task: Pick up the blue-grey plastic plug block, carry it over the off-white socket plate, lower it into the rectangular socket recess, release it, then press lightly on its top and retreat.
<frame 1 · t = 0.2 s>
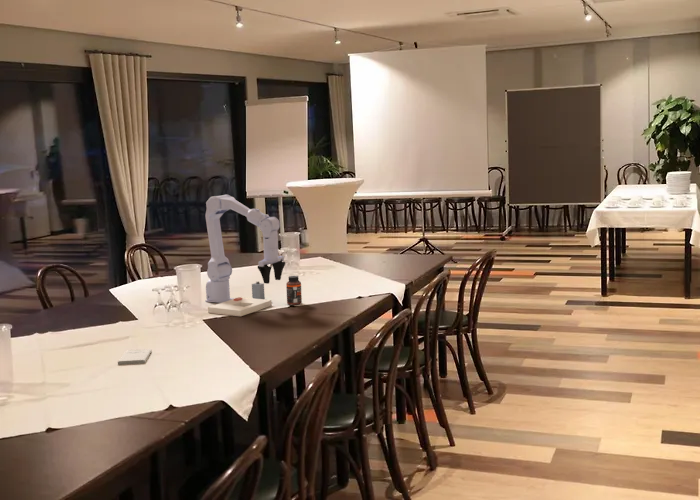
hand: (272, 281, 309), 10 cm above the table, tool pointing down, fingers open, 7 cm apart
socket plate: (240, 309, 306), on the table
external hard drive: (135, 360, 242), on the table
plug: (258, 300, 321), on the table
supplement bottle: (294, 304, 312), on the table
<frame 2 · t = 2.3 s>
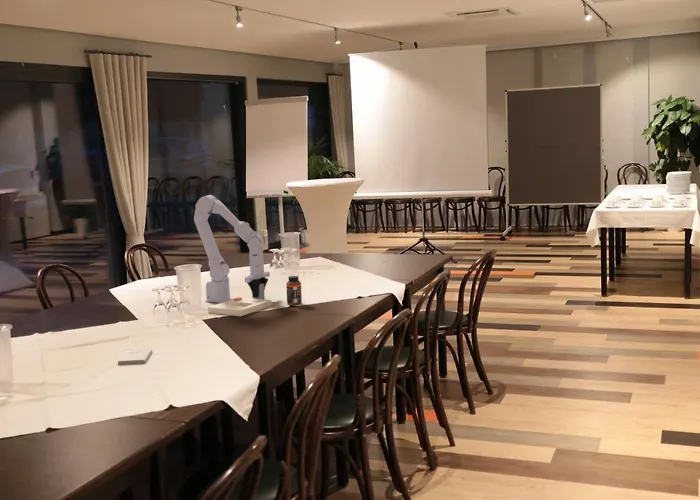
hand: (258, 296, 321), 2 cm above the table, tool pointing down, fingers closed on plug, 3 cm apart
plug: (258, 300, 321), on the table, touching gripper
everything else where it was.
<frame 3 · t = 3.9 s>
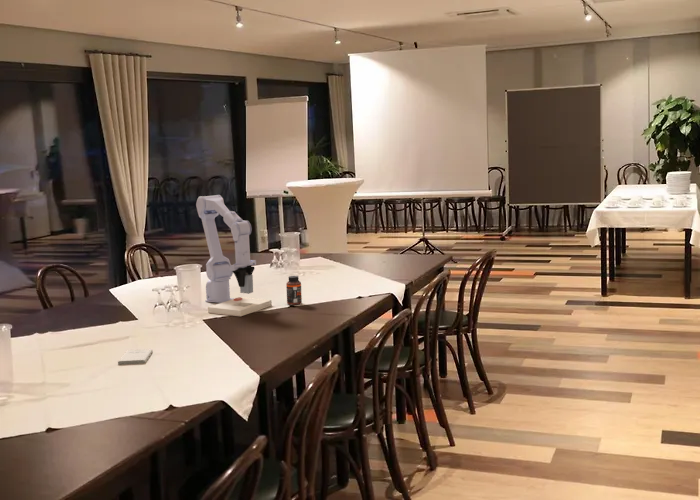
hand: (244, 285, 306), 9 cm above the table, tool pointing down, fingers closed on plug, 3 cm apart
plug: (246, 292, 306), point 6 cm above the table, touching gripper
everything else where it was.
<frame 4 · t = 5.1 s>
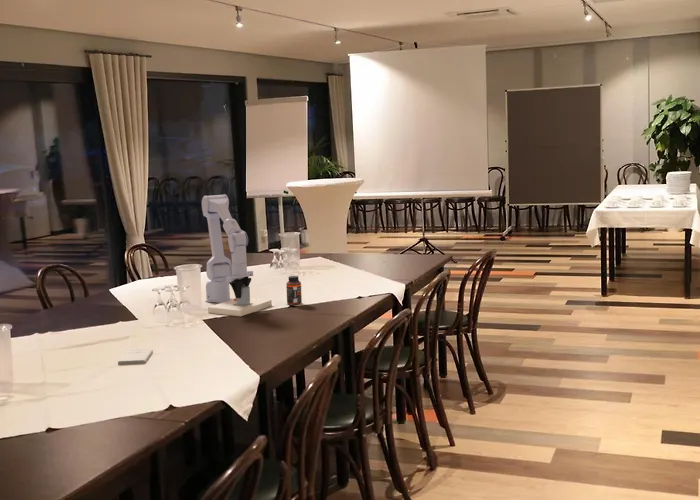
hand: (241, 297, 304), 5 cm above the table, tool pointing down, fingers closed on plug, 3 cm apart
plug: (243, 304, 304), point 2 cm above the table, touching gripper
everything else where it was.
when the fingers open (3 cm above the table, at t = 5.8 s): plug stays where it is, resting in socket plate.
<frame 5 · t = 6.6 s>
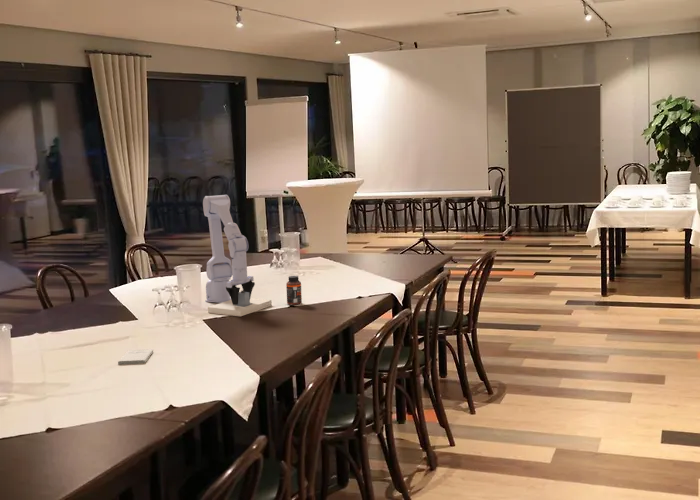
hand: (241, 302, 304), 3 cm above the table, tool pointing down, fingers open, 7 cm apart
plug: (243, 310, 304), resting in socket plate
everything else where it was.
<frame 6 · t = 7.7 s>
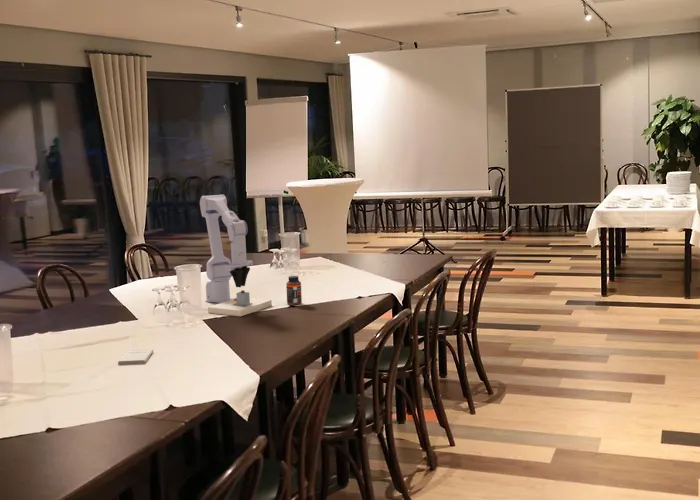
hand: (240, 286, 303), 9 cm above the table, tool pointing down, fingers closed
nothing on the table moved.
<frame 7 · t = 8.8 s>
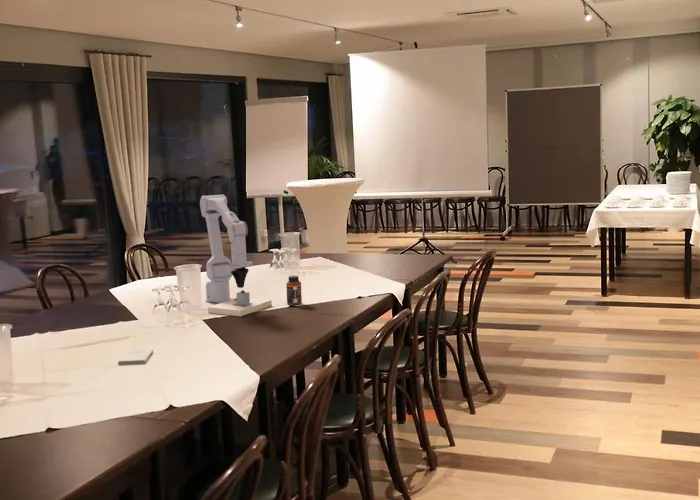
hand: (240, 287, 303), 9 cm above the table, tool pointing down, fingers closed
nothing on the table moved.
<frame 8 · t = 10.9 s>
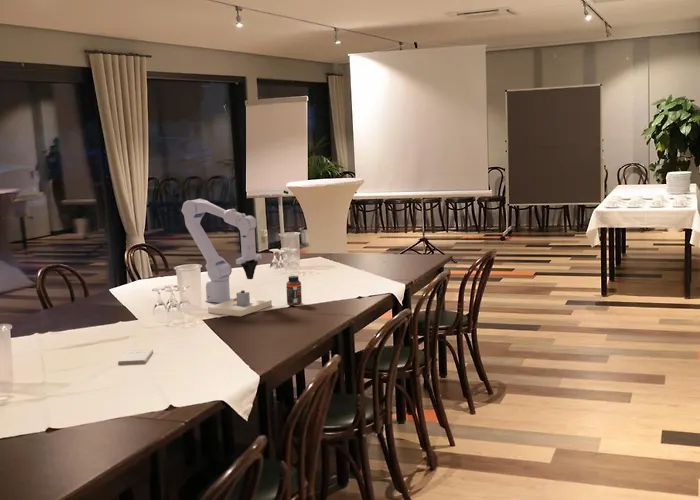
hand: (250, 279, 315), 10 cm above the table, tool pointing down, fingers closed
nothing on the table moved.
at the end: plug 0.5 cm from the target spot on the socket plate, point 0.0 cm above the socket plate's base; plug tilted 0°; the gripper is holding nothing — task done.
